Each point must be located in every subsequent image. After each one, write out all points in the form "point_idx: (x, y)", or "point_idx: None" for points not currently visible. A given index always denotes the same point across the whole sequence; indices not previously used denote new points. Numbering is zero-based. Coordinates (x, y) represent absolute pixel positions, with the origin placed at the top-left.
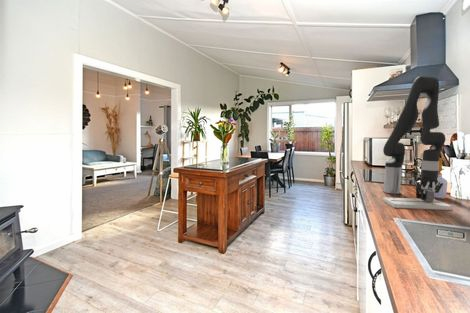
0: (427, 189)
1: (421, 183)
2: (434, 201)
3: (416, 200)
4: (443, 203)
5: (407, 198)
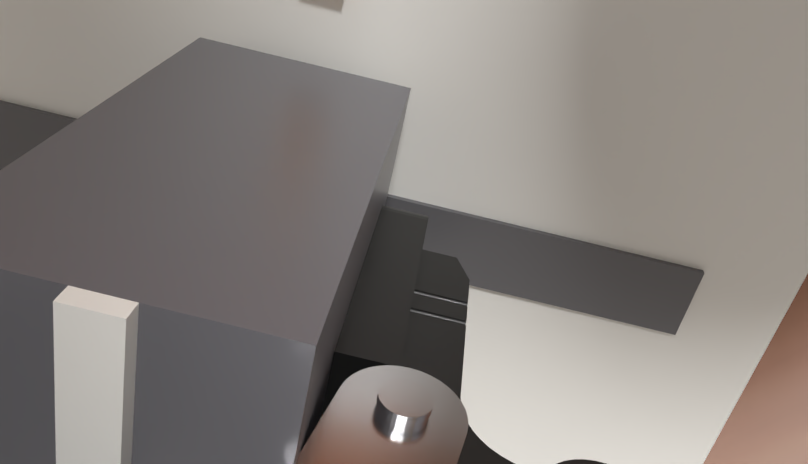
0: (250, 371)
1: None
2: (612, 195)
3: (43, 4)
4: (673, 404)
5: None
